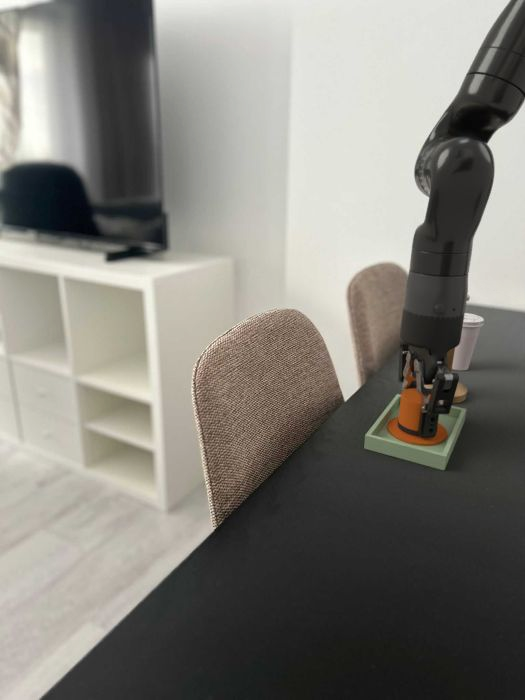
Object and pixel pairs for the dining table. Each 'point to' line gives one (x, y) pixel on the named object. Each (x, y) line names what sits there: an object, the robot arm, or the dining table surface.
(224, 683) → the dining table surface
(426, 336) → the robot arm
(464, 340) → the smoothie
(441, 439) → the hat
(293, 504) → the dining table surface
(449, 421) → the tray
